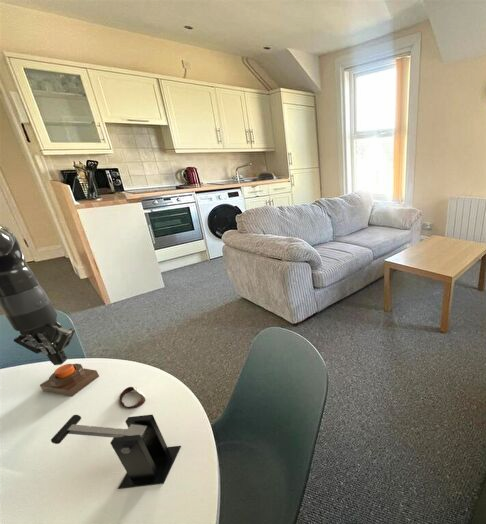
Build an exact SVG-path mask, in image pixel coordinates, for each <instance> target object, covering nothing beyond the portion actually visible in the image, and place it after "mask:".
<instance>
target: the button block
mask: <svg viewBox="0 0 486 524" xmlns="http://www.w3.org/2000/svg"><path fill="white" fill-rule="evenodd" d="M71 364H72V365H73V367H74V368H75V371H74V372H73V373H72V374H70V375H68V376H66V377H64V378H60V379H58V378H57V377H56V375H55V373H54V372H53V373H52V374H51V375H50V376H49V377H48V379H47V380H45V381H44V382H42V383H41V384H39V387H40V389H41V390H42V392H45V393H50V394H56V395H61V396H67V397H74V396H75V395H77V394H78V393H80V392H81V391H82V390H83V389H84V388H86V387H87V386H88V385H90V384H91V383H92V382H94V381H95V380H97V379H98V378H100V374H99V372H98V370H96V369H90V368H84V367H83V365H82V364H81V363H71Z"/></svg>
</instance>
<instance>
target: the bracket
mask: <svg viewBox="0 0 486 524" xmlns="http://www.w3.org/2000/svg"><path fill="white" fill-rule="evenodd" d="M131 424H136V425H147V436H146V437H145V439H144V441H143V440H142V438H141V436H140V435H132V436H123V437H114V438H112V439H111V441H110V445H111V447H112V449H113V450H114V452H115V454H116V456H117V458H118V460H119V461H120V463H121V464H122V466H123V469H124V470H125V472H126V474H125V475H124V477H123V479H122V480H121V482H120V484H119V485H118V487H117V489H118V490H122V489H131V488H140V487H148V486H155V485H157V486H158V485H164V484H165V482H166V480H167V478H168V476H169V474H170V471H171V469H172V467H173V465H174V463H175V461H176V458H177V457H178V454H179V453H180V450H181V448H182V445H174V446H168V445H167V443H166V441H165V439H164V437H163V434H162V432H161V429H160V428H159V425H158V423H157V421H156V418H155V417H154V414H144V415H136V416H135V415H134V416H128V417H127V418H126V420H125V425H126V426H127V429H128V428H129V426H130V425H131Z"/></svg>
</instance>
